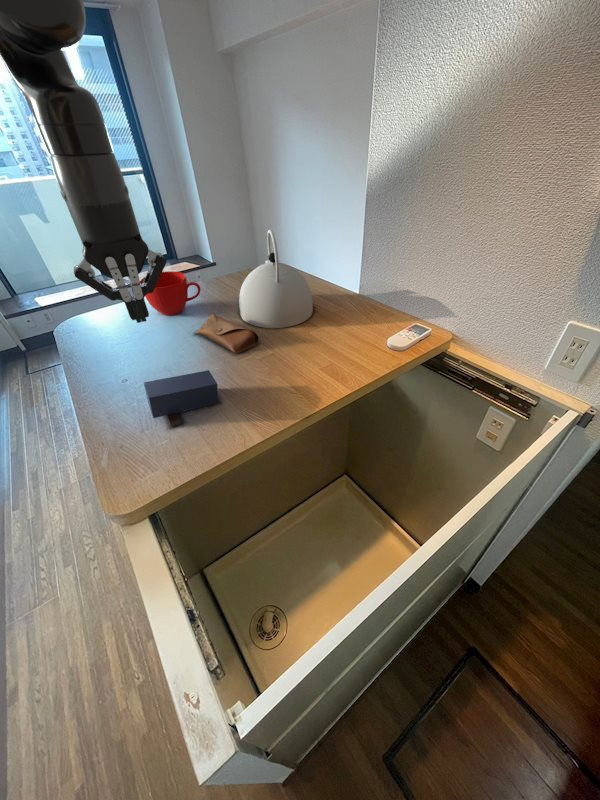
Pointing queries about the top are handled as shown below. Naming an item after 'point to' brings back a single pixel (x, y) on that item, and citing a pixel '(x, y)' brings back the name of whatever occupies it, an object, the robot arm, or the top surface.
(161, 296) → the ceramic cup
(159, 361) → the top surface
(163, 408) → the navy box
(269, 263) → the kettle
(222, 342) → the sunglasses case
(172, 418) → the stop strip
